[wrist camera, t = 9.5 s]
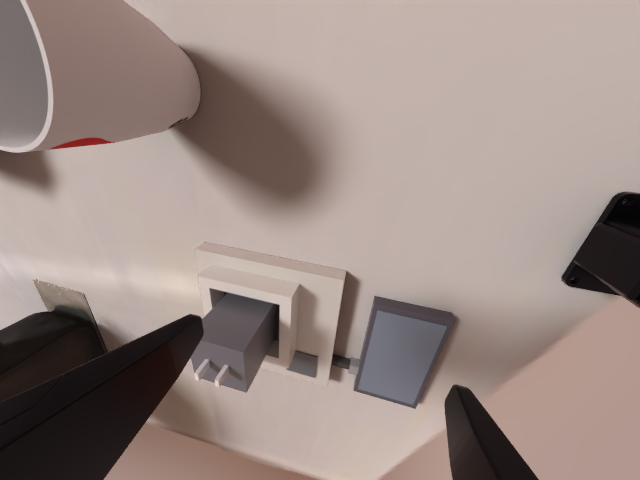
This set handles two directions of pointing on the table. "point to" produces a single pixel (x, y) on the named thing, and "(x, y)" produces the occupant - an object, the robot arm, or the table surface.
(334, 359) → the black and grey bar
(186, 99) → the cup
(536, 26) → the table surface
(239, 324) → the charger block
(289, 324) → the outlet plate
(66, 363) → the shoulder bag
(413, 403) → the phone
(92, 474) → the robot arm
